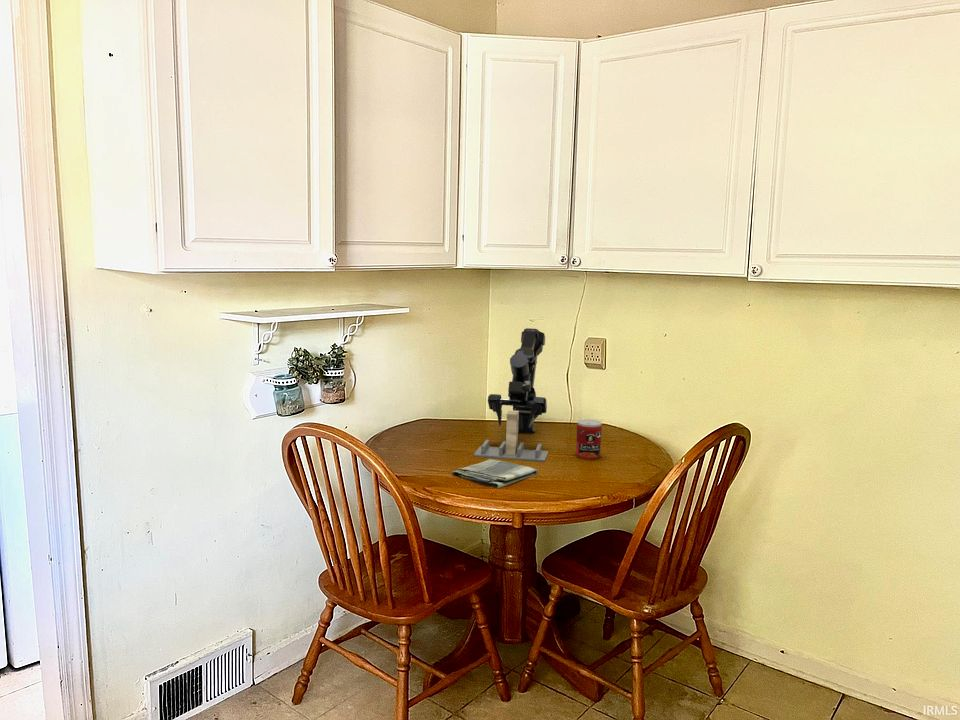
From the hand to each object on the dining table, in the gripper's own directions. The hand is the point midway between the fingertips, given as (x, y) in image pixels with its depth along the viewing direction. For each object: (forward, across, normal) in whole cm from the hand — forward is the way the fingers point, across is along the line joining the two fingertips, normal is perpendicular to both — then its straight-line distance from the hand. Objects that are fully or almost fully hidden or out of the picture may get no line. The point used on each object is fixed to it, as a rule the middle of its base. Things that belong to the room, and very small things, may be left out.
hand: (514, 426), depth 229 cm
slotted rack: (+8, 0, +3) cm, 9 cm away
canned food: (+5, +24, +7) cm, 25 cm away
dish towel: (+24, -2, -11) cm, 27 cm away
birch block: (+8, 0, +3) cm, 9 cm away
